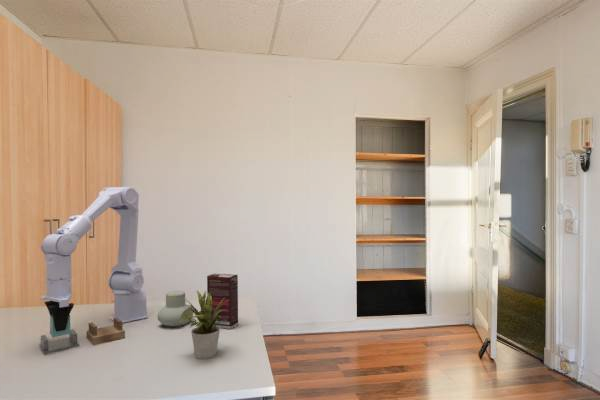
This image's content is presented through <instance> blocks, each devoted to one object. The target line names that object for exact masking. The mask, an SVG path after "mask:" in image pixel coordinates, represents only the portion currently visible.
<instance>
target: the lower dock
mask: <svg viewBox="0 0 600 400" xmlns="http://www.w3.org/2000/svg"><path fill="white" fill-rule="evenodd" d="M68 335H69V336H68V337H63V338H59V339H58V338H57V339H54V340H50V341H49V338H48V336H47V335H46V334H44V335H40V343H38V347H39V349H40V350H41V352H42V354H43V355H47V354H48V355H49V354H52V353H53V354H54V353H56V352H61V350H62V351H65V349H66V350H69V348H70V349H73V347H74V348H78V346H79V347H80V343H79V342H78V332H77V331H76V330H75V329H74V328H73V329H72V328H70V334H68Z"/></svg>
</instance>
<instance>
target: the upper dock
mask: <svg viewBox="0 0 600 400" xmlns="http://www.w3.org/2000/svg"><path fill="white" fill-rule="evenodd" d="M113 320H114V321H113ZM113 320H112V321H113V324H112V325H107V326H103V327H98V326H97V325H96V323H94V322H93V321H92V322H88V330H86V339H87V340H88V341H89V342H90V343H91V344H92V345H93V346H98V345H102V344H105V343H110V342H113V341H118V340H123V339H126V332H125V330H124V329H123V323H122V321H121V320H120V319H119V318H117V317H116V318H113Z"/></svg>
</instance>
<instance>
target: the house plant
mask: <svg viewBox="0 0 600 400" xmlns="http://www.w3.org/2000/svg"><path fill="white" fill-rule="evenodd" d="M195 292H196V293H197V298H198V303H199V306H200V307H199V308H200V311H199V310H198V309H197V308H196V307H194V305H193V304H192V303H191V302H190V301H189V300H188V299H187V298H185V303H188V305H189V306H190V307H188V308H190V309H191V310H192V311H193V316H192V317H187V316H186V315H184V316H185V317H186V318H183V319H182V320H181V321H183V320H186V319H189V320H190V319H191V320H190V321H189V322H191V323H190V329H191V328H192V327H193V326H195V327H194V328H192V329H191V330H190V331H191V332H190V333H191V338H192V344H193V350H194V356H195V357H196V358H198V359H201V360H202V359H209V358H213V357H215V356H216V354H217V349H218V344H219V343H218V342H219V338H220V330H221V328H219V327H217V326H216V325H217V324H218V323H219V322H220V321H219V322H217V323H216V324H215V325H214V323H215V322H216V321H217V320H218V319H219V318H220V316H216V315H217V314H218V313H219V312H220V311H222V310H219V311H218V309H219V307H220V306H221V305H222V304H223V303H222V304H221V302H222V301H223V300H222V301H221V302H220V304H221V305H220V304H219V305H220V306H219V305H218V306H219V307H217V308H216V310H215V312H214V314H213V316H212V318H211V319H210V315H211V308H212V297H211V295H210V298H209V294H208V293H207V290H206V291H204V293H203V295H202V293H200V291H199V290H195ZM209 293H210V292H209ZM176 298H180V297H176ZM183 299H184V298H183ZM227 301H228V300H227ZM185 308H186V307H185ZM217 311H218V312H217ZM181 315H183V314H181ZM215 316H216V317H215ZM195 318H196V319H197V320H196V319H195ZM209 319H210V321H209ZM224 320H226V319H224ZM181 321H180V322H181ZM221 321H223V320H221ZM226 321H227V320H226ZM210 322H211V323H210ZM213 325H214V326H213Z"/></svg>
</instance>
